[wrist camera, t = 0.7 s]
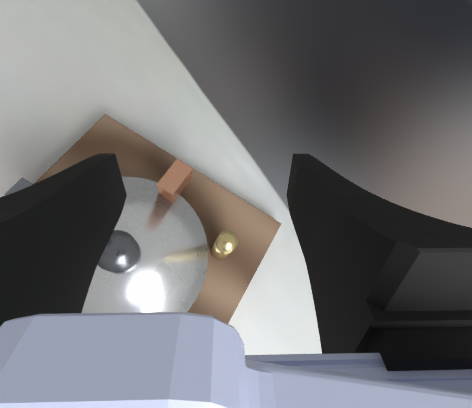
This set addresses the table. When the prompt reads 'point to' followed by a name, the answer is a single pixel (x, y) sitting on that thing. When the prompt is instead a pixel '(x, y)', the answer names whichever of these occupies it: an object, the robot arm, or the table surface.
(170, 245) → the flange plate
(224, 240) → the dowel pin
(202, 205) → the base board
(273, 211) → the table surface
